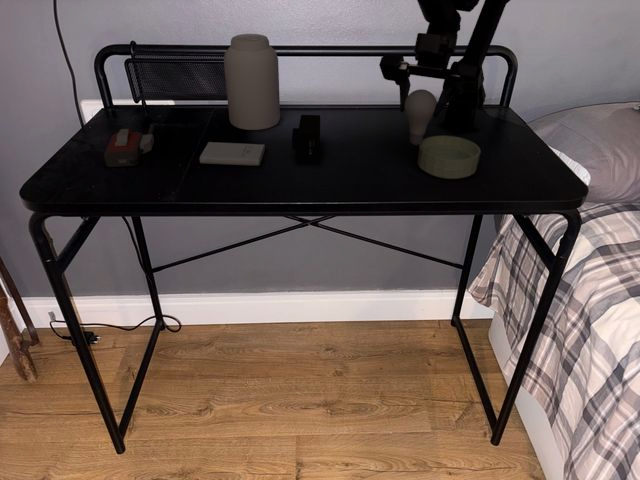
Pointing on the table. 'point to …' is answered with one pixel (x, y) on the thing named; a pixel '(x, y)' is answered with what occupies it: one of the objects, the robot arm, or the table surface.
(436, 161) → the bowl
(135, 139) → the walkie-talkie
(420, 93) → the lightbulb
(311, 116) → the digital camera
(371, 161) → the table surface
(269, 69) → the wide mouth jar
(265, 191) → the table surface
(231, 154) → the hard drive
